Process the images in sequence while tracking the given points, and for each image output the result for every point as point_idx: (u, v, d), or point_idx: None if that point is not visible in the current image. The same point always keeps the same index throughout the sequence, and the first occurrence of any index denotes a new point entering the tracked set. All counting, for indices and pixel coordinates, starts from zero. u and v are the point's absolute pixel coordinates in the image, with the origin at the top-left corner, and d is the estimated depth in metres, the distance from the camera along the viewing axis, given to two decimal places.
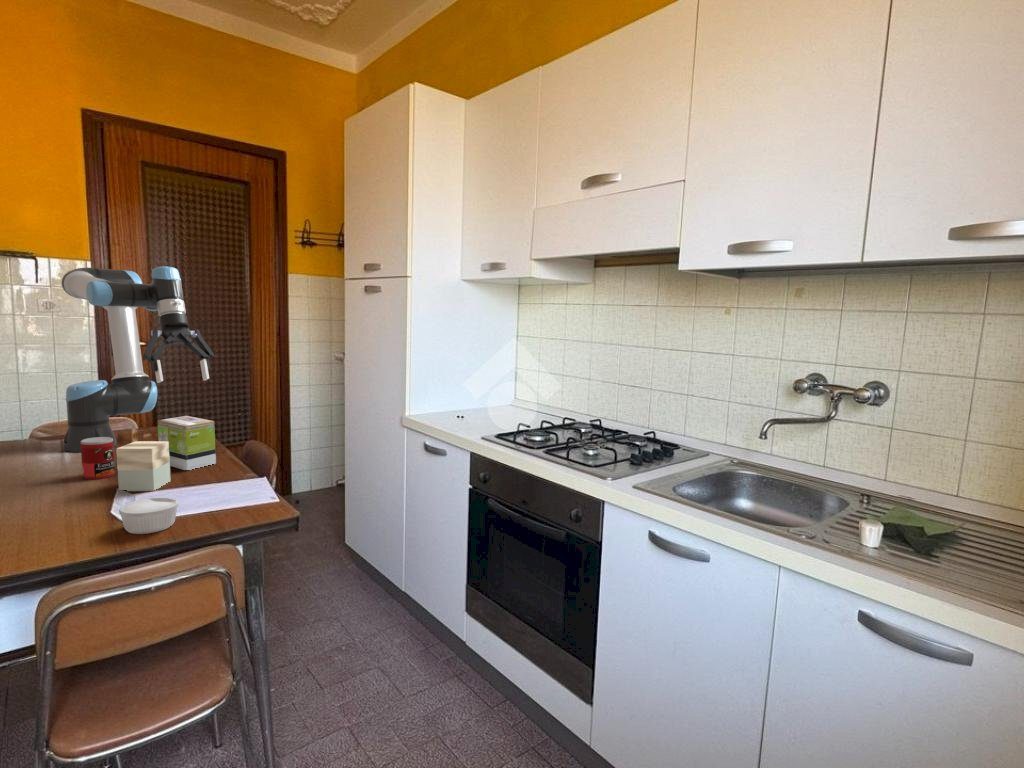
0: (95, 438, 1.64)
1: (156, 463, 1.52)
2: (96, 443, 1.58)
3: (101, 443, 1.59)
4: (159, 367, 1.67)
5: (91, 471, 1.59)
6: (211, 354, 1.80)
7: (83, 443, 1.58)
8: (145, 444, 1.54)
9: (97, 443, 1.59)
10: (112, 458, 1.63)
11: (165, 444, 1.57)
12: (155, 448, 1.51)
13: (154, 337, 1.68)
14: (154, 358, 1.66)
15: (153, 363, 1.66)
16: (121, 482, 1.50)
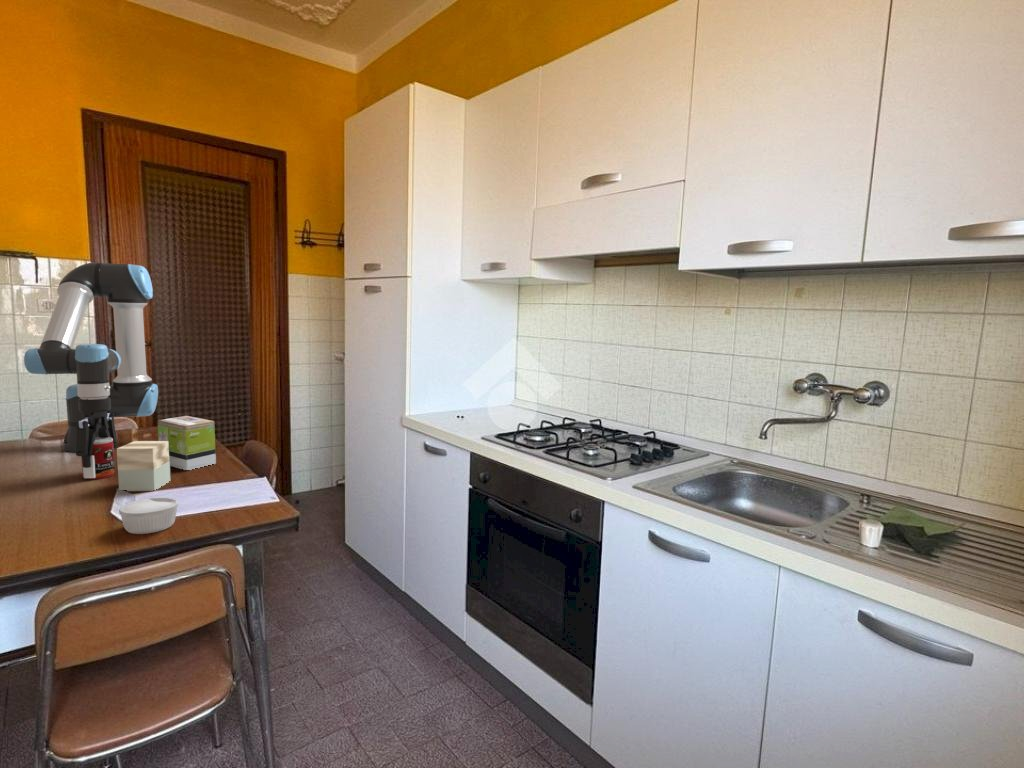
0: (95, 438, 1.64)
1: (157, 462, 1.53)
2: (96, 443, 1.58)
3: (101, 443, 1.59)
4: (93, 463, 1.58)
5: None
6: (115, 441, 1.69)
7: None
8: (145, 444, 1.54)
9: (97, 443, 1.59)
10: (112, 458, 1.63)
11: (165, 444, 1.57)
12: (156, 448, 1.52)
13: (87, 431, 1.55)
14: (90, 454, 1.57)
15: (88, 460, 1.57)
16: (121, 482, 1.50)
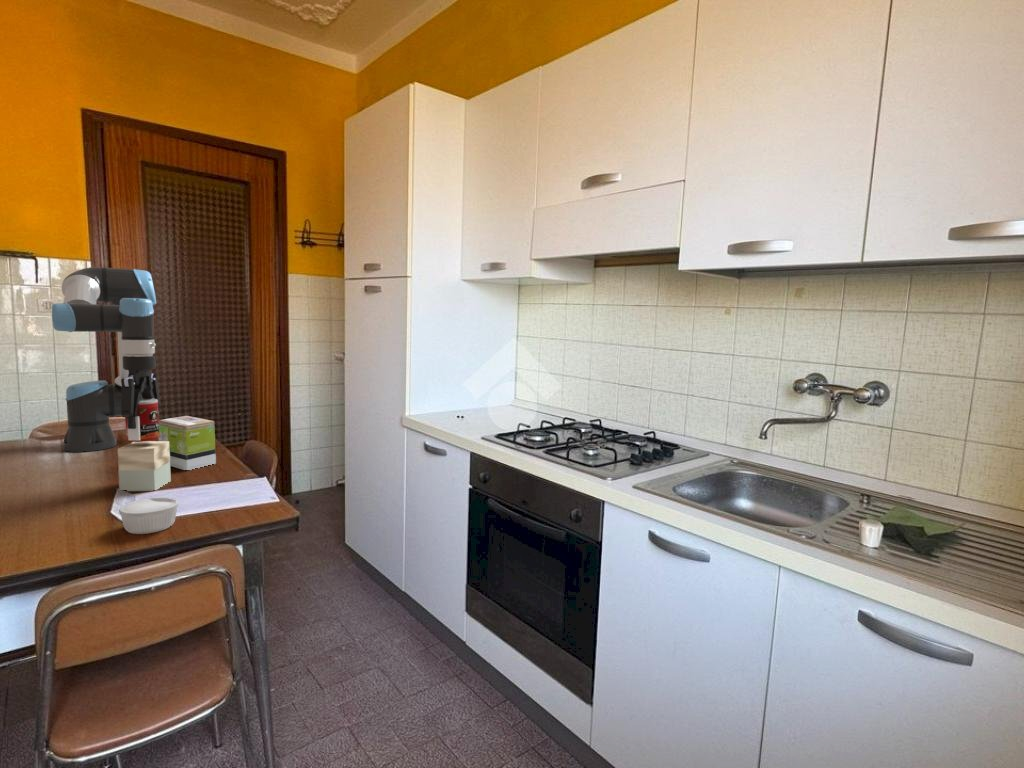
0: None
1: (158, 462, 1.53)
2: (141, 403, 1.49)
3: (146, 403, 1.50)
4: (138, 425, 1.49)
5: None
6: (159, 404, 1.59)
7: None
8: (146, 444, 1.54)
9: (142, 403, 1.49)
10: (157, 420, 1.53)
11: (166, 444, 1.57)
12: (157, 448, 1.52)
13: (132, 389, 1.46)
14: (136, 415, 1.48)
15: (133, 420, 1.47)
16: (122, 482, 1.50)
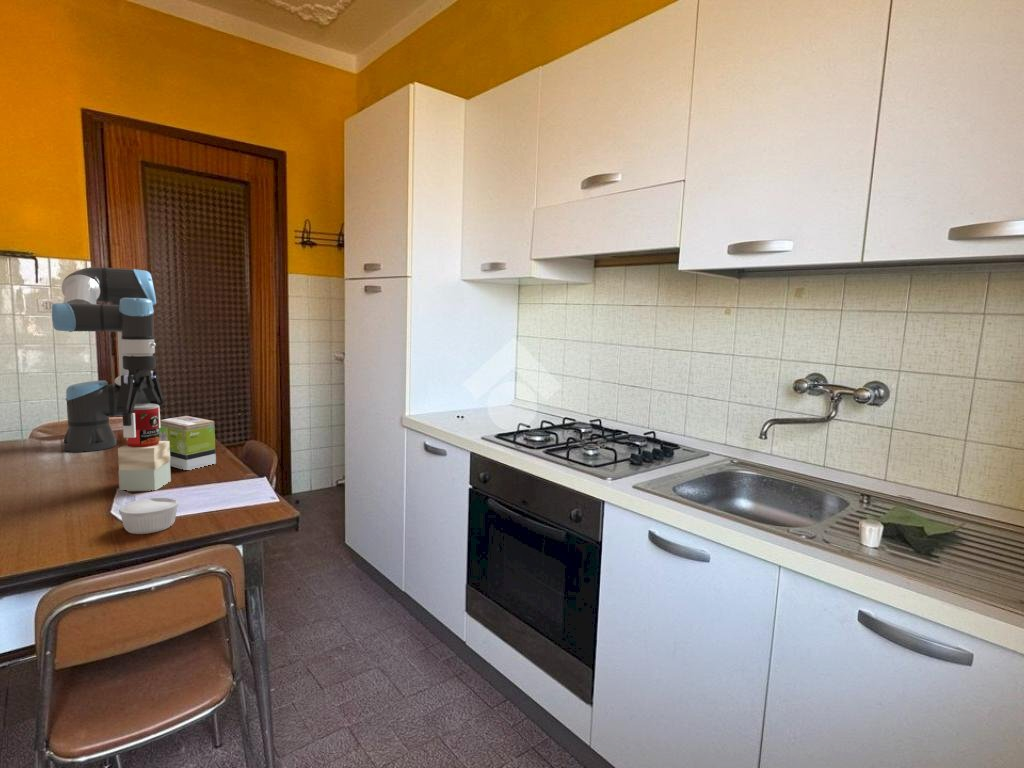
0: (139, 404, 1.55)
1: (158, 462, 1.53)
2: (142, 408, 1.49)
3: (147, 408, 1.50)
4: (134, 422, 1.47)
5: (136, 438, 1.50)
6: (162, 399, 1.61)
7: None
8: None
9: (143, 408, 1.50)
10: (157, 425, 1.54)
11: (166, 444, 1.57)
12: (157, 448, 1.52)
13: (131, 386, 1.45)
14: (131, 412, 1.45)
15: (128, 417, 1.45)
16: (122, 482, 1.50)
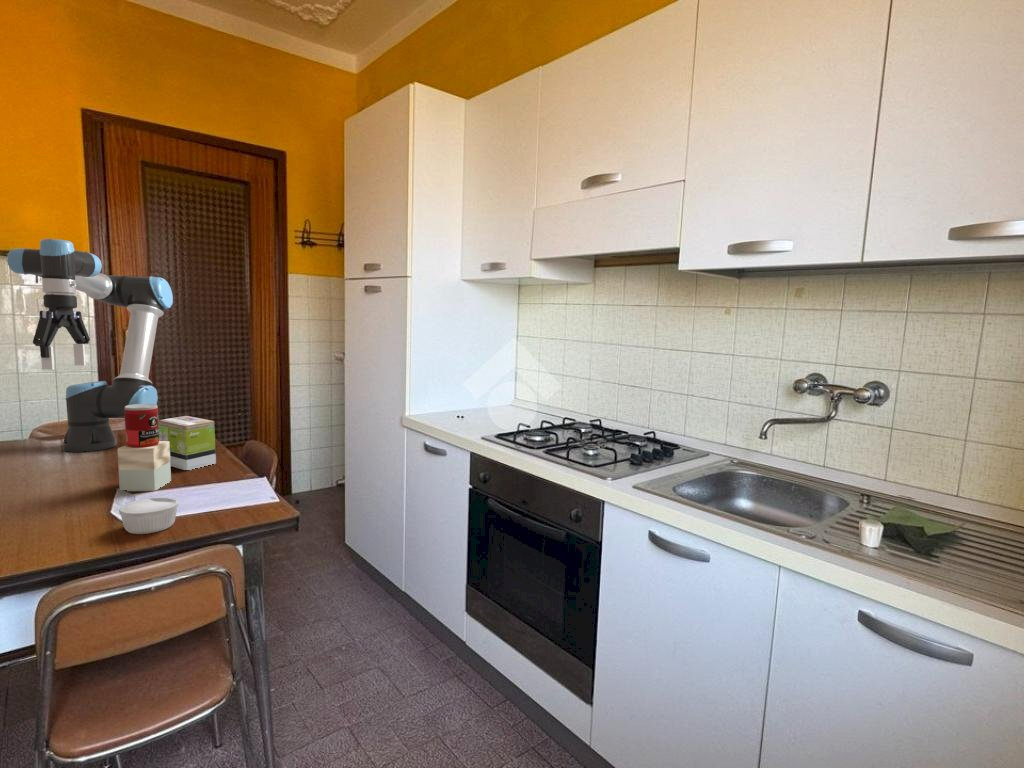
0: (139, 405, 1.54)
1: (158, 462, 1.52)
2: (140, 409, 1.49)
3: (146, 409, 1.50)
4: (52, 354, 1.55)
5: (135, 439, 1.49)
6: (88, 338, 1.70)
7: (127, 409, 1.49)
8: None
9: (141, 409, 1.49)
10: (157, 425, 1.53)
11: (166, 444, 1.57)
12: (156, 448, 1.52)
13: (49, 321, 1.54)
14: (48, 344, 1.54)
15: (46, 349, 1.53)
16: (122, 482, 1.50)
